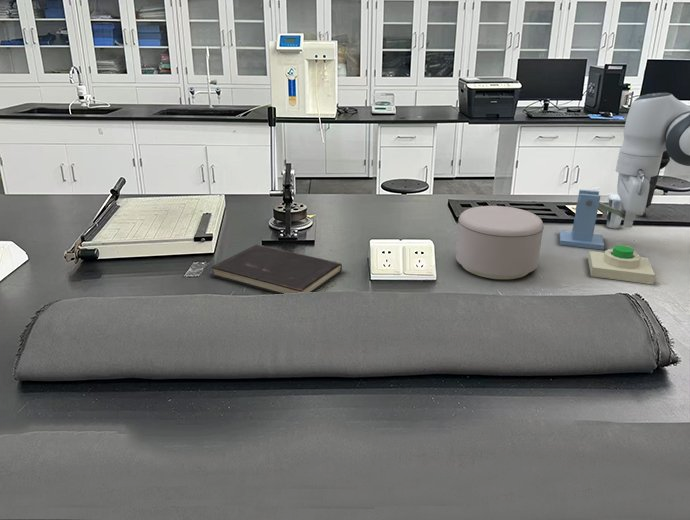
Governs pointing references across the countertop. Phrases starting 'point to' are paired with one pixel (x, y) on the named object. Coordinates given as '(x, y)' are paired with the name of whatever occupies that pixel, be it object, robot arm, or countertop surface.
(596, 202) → the lever bracket
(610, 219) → the milkshake
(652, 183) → the microphone
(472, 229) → the container
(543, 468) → the countertop surface
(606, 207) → the light lever
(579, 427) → the countertop surface
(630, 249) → the light button
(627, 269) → the switch block
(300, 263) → the hardcover book
